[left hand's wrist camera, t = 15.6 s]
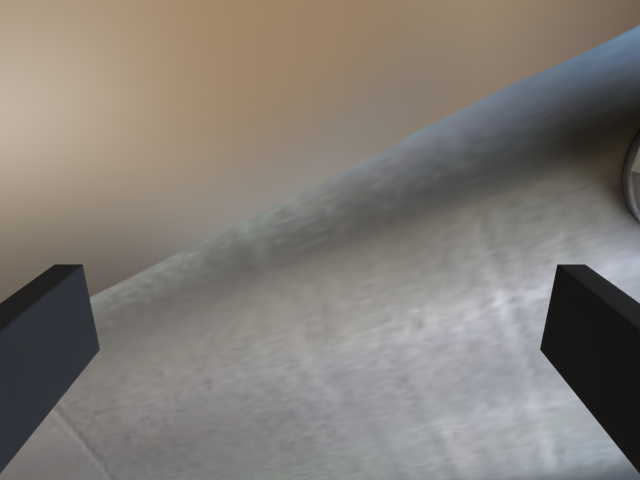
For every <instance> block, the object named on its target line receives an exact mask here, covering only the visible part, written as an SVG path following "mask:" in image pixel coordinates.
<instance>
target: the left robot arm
mask: <svg viewBox="0 0 640 480" xmlns="http://www.w3.org/2000/svg"><path fill="white" fill-rule="evenodd" d="M623 191H624V196H625V200H626V202H627V205H628V207H629V209H630V211H631V212H632V213H633V215H634V216H635V217H636V218H637V219H638V220H639V221H640V132H639V133H638V135H637V136H636V138H635V140H634V142H633V144H632V146H631V148H630V150H629V152H628V155H627V158H626V161H625V165H624V171H623ZM99 350H100V348H99V343H98V338H97V333H96V328H95V323H94V318H93V313H92V309H91V304H90V299H89V294H88V289H87V284H86V279H85V274H84V269H83V265H54V266H52V267H51V268H49V269H48V270H47V271H45V272H44V273H42V274H41V275H40V276H38V277H37V278H35V279H34V280H33V281H31V282H30V283H28V284H27V285H26V286H24V287H23V288H21V289H20V290H19V291H17V292H16V293H14V294H13V295H12V296H10V297H9V298H7V299H6V300H5V301H3V302H2V303H0V473H1V472H2V471H3V470H4V468H5V467H6V466H7V465H8V463H9V462H10V461H11V460H12V458H13V457H14V456H15V455H16V453H17V452H18V451H19V450H20V448H21V447H22V446H23V445H24V443H25V442H26V441H27V440H28V438H29V437H30V436H31V435H32V433H33V432H34V431H35V430H36V428H37V427H38V426H39V425H40V423H41V422H42V421H43V420H44V418H45V417H46V416H47V415H48V413H49V412H50V411H51V410H52V408H53V407H54V406H55V405H56V403H57V402H58V401H59V400H60V399H61V397H62V396H63V395H64V394H65V392H66V391H67V390H68V389H69V387H70V386H71V385H72V384H73V382H74V381H75V380H76V379H77V377H78V376H79V375H80V374H81V372H82V371H83V370H84V369H85V367H86V366H87V365H88V364H89V362H90V361H91V360H92V359H93V357H94V356H95V355H96V354H97V352H98V351H99ZM540 350H541V351H542V352H543V354H544V355H545V356H546V357H547V359H548V360H549V361H550V362H551V364H552V365H553V366H554V367H555V369H556V370H557V371H558V372H559V374H560V375H561V376H562V377H563V379H564V380H565V381H566V382H567V384H568V385H569V386H570V387H571V389H572V390H573V391H574V392H575V394H576V395H577V396H578V397H579V399H580V400H581V401H582V402H583V404H584V405H585V406H586V407H587V408H588V410H589V411H590V412H591V413H592V415H593V416H594V417H595V418H596V420H597V421H598V422H599V423H600V425H601V426H602V427H603V428H604V430H605V431H606V432H607V433H608V435H609V436H610V437H611V438H612V440H613V441H614V442H615V443H616V445H617V446H618V447H619V448H620V450H621V451H622V452H623V453H624V455H625V456H626V457H627V458H628V460H629V461H630V462H631V463H632V465H633V466H634V467H635V468H636V470H637V471H638V472H639V473H640V303H638V302H637V301H635V300H634V299H633V298H631V297H630V296H628V295H627V294H626V293H624V292H623V291H621V290H620V289H619V288H617V287H616V286H614V285H613V284H612V283H610V282H609V281H607V280H606V279H605V278H603V277H602V276H600V275H599V274H598V273H596V272H595V271H593V270H592V269H591V268H589V267H588V266H586V265H557V269H556V274H555V279H554V284H553V289H552V294H551V299H550V304H549V309H548V313H547V318H546V323H545V328H544V333H543V338H542V343H541V348H540Z"/></svg>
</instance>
